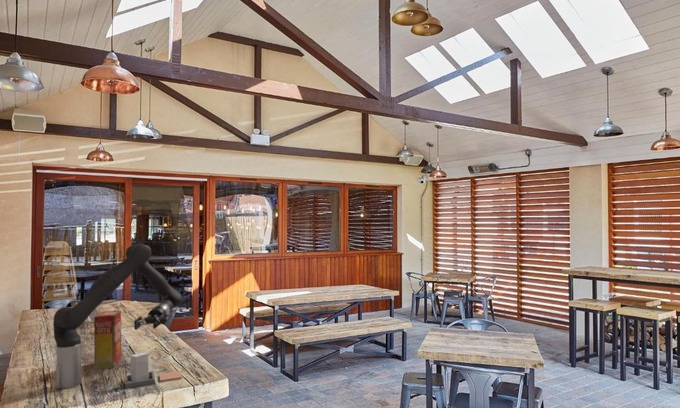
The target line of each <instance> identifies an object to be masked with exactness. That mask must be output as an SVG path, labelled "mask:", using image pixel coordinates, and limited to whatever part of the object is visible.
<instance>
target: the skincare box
mask: <svg viewBox="0 0 680 408" xmlns="http://www.w3.org/2000/svg"><path fill="white" fill-rule="evenodd" d="M149 370H150V369H149V353H148V352H145V351H143V352H139V353H135V354H130V375H131V380H130V381H131V382H136V381H143V380H149V379H150V377H149V372H150V371H149Z"/></svg>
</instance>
